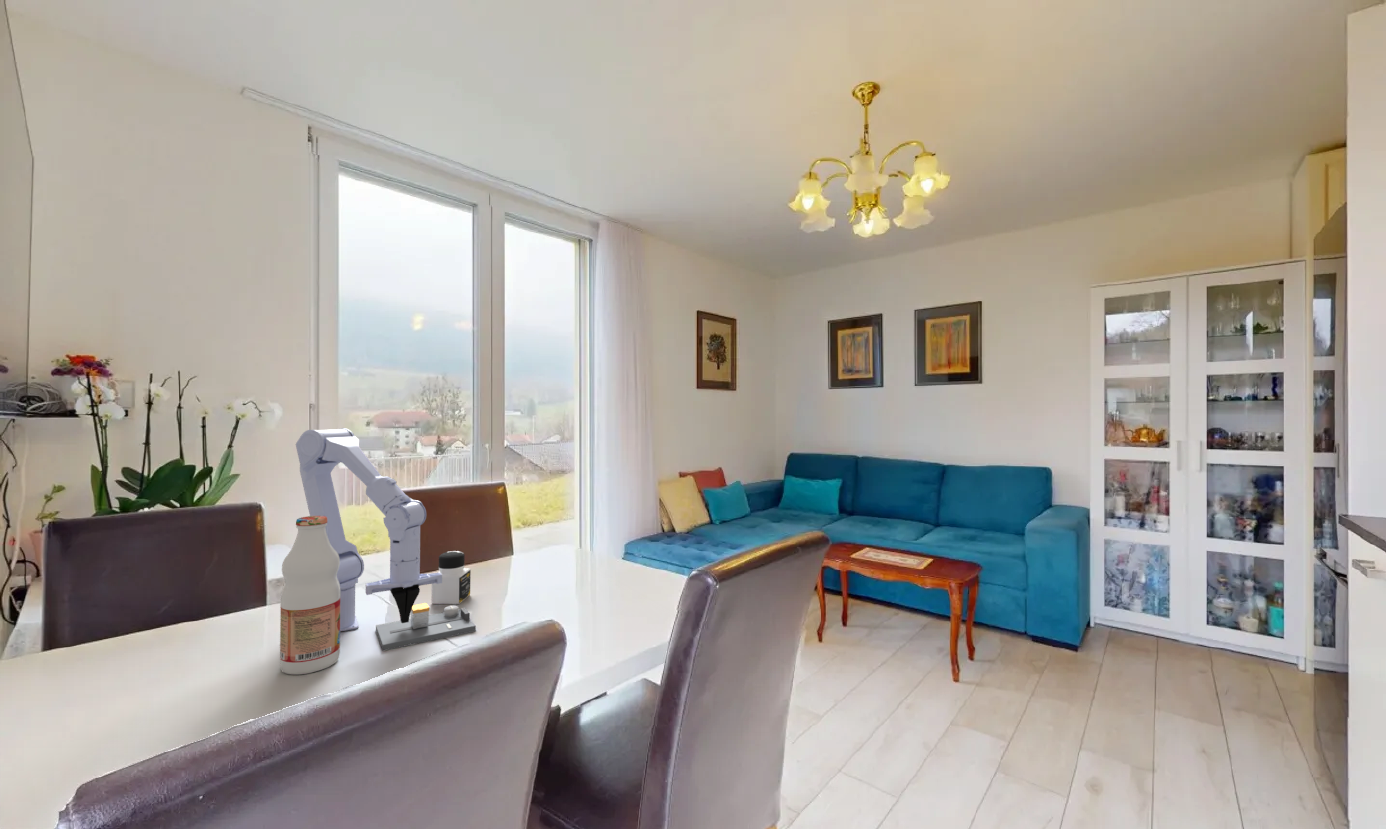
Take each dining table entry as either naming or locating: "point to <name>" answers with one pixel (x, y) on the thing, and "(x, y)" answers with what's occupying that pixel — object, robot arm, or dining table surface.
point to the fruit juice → (310, 601)
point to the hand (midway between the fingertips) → (404, 621)
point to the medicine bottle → (451, 579)
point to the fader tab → (419, 615)
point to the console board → (426, 629)
